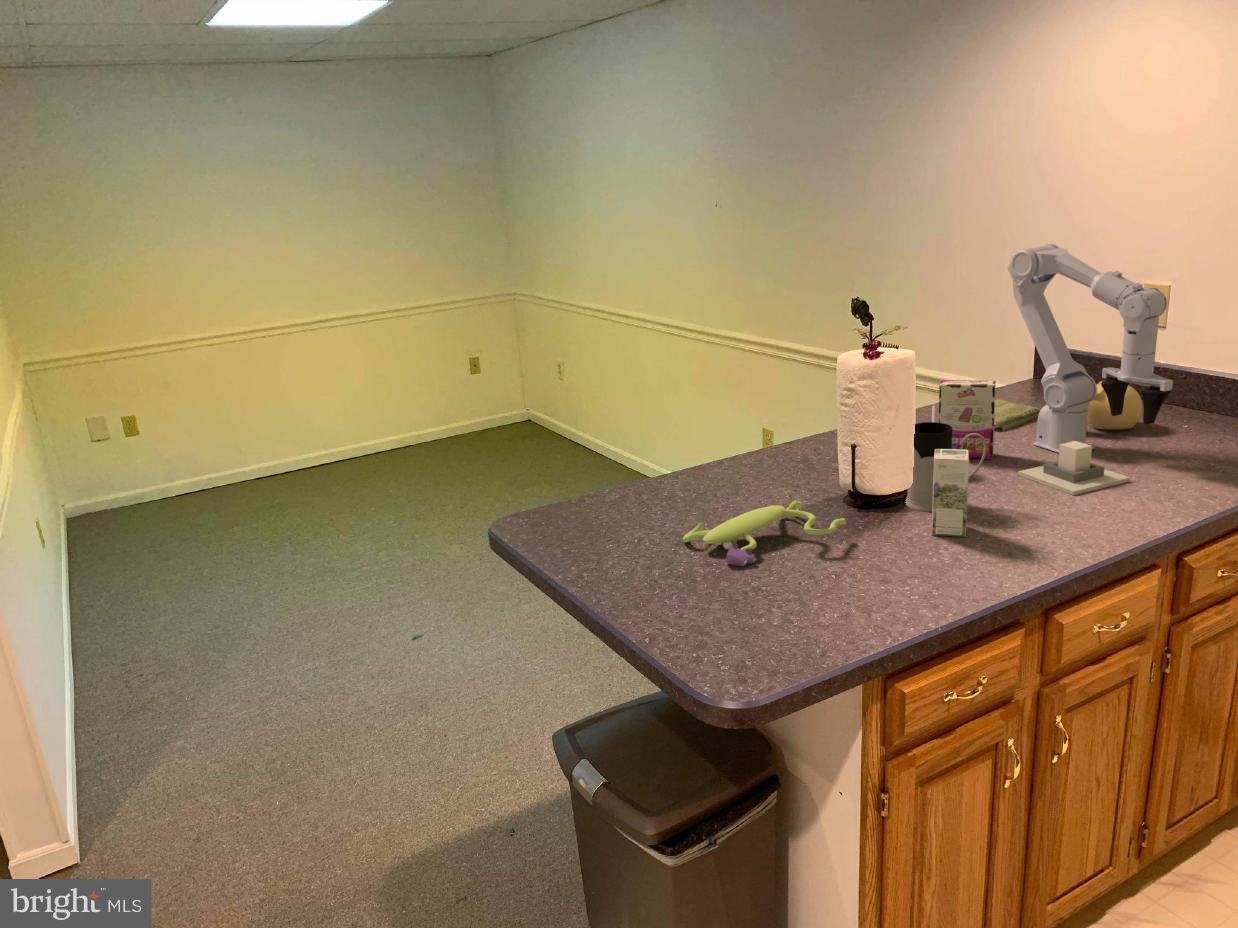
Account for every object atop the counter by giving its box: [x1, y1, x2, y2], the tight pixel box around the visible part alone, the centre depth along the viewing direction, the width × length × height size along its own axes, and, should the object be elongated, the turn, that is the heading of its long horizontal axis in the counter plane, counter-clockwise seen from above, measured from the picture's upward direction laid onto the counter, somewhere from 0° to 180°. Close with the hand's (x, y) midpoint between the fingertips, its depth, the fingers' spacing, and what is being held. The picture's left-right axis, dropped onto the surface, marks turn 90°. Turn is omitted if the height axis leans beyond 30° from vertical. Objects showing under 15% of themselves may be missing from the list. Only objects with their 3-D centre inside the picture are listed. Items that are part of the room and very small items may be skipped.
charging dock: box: [1017, 460, 1131, 496], centre depth 184 cm, size 14×14×3 cm
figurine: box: [682, 500, 847, 567], centre depth 166 cm, size 18×27×6 cm
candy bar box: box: [938, 379, 996, 460], centre depth 200 cm, size 11×5×16 cm, turn 68°
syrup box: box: [931, 449, 970, 538], centre depth 163 cm, size 6×6×14 cm
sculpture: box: [1087, 380, 1143, 430], centre depth 211 cm, size 12×12×11 cm
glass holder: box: [904, 421, 987, 513], centre depth 175 cm, size 9×14×15 cm, turn 78°
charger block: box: [1058, 441, 1093, 472], centre depth 183 cm, size 4×4×6 cm
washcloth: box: [994, 398, 1041, 432], centre depth 225 cm, size 13×18×3 cm
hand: (1132, 419), depth 187 cm, fingers open, 7 cm apart
